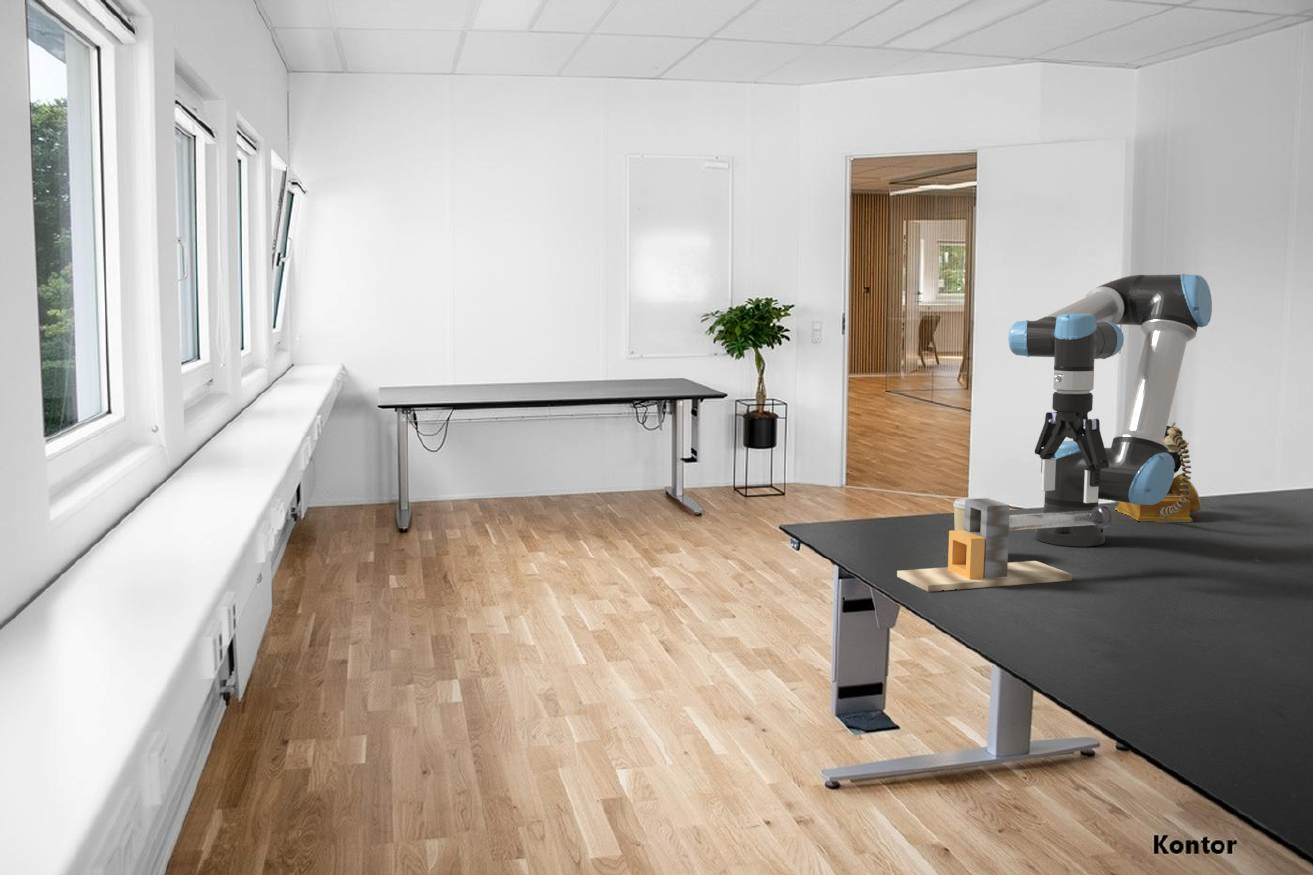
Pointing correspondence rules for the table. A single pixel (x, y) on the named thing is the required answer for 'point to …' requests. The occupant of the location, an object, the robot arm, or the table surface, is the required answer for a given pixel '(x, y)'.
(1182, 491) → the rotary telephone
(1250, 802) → the table surface
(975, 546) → the frame
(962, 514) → the coffee cup
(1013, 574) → the bearing fixture
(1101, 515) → the shaft
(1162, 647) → the table surface
